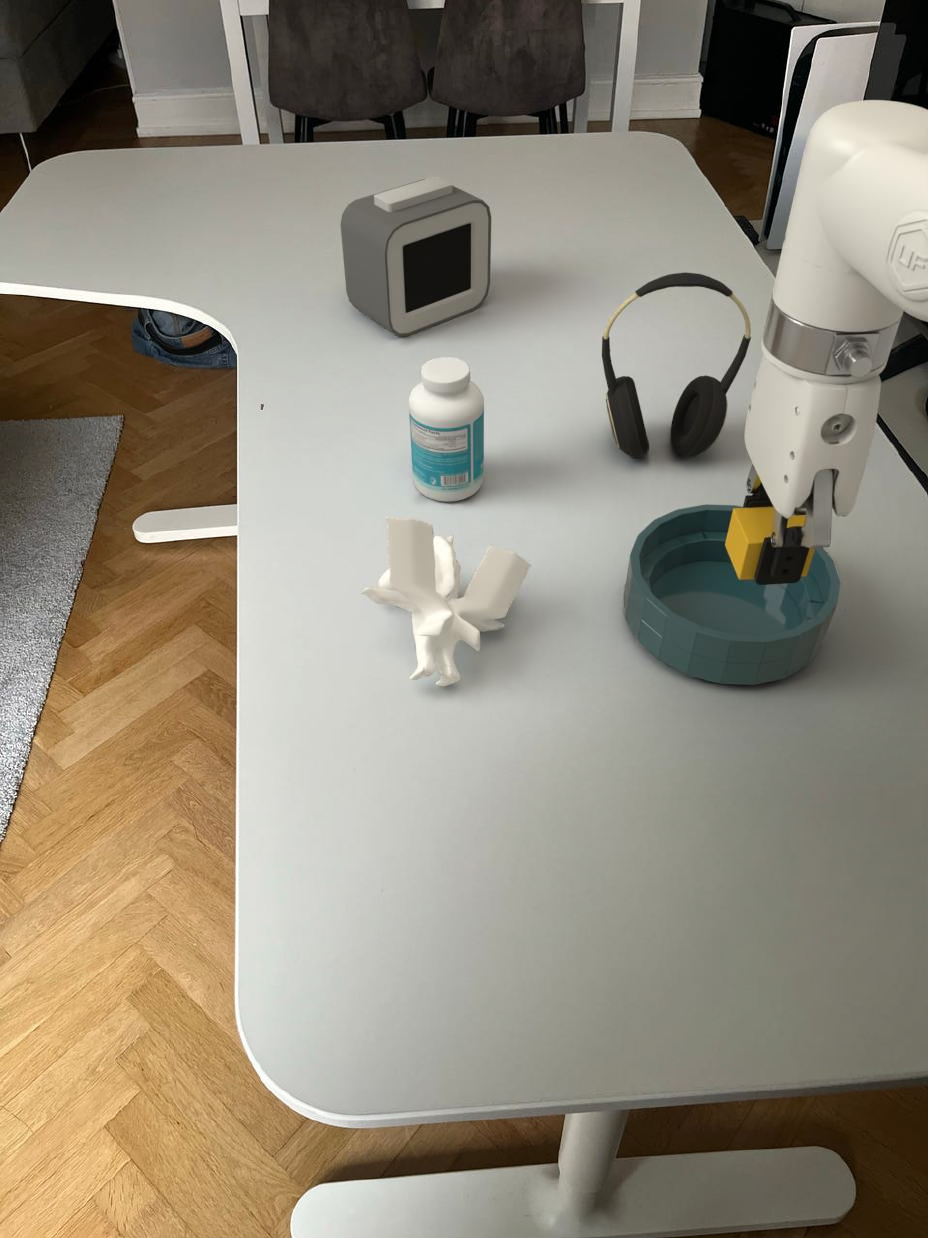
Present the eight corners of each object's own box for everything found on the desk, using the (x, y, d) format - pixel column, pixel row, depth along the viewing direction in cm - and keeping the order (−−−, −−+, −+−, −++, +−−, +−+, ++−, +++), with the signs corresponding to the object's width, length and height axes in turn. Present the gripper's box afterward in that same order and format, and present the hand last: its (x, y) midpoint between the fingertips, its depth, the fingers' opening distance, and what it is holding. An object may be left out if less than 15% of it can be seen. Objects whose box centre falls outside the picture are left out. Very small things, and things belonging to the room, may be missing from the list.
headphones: (733, 472, 105) (775, 295, 91) (594, 473, 105) (613, 296, 91) (718, 427, 111) (755, 253, 97) (586, 427, 111) (604, 254, 97)
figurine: (460, 717, 91) (457, 579, 97) (541, 679, 82) (532, 531, 88) (314, 686, 83) (320, 538, 88) (388, 641, 74) (389, 480, 80)
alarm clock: (390, 343, 125) (382, 219, 114) (339, 309, 131) (328, 189, 120) (489, 304, 132) (491, 184, 121) (437, 274, 138) (435, 157, 127)
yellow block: (724, 544, 74) (732, 507, 72) (789, 541, 75) (800, 504, 72) (738, 580, 72) (748, 543, 69) (806, 576, 72) (818, 539, 69)
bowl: (854, 607, 90) (873, 557, 86) (765, 724, 81) (781, 674, 77) (684, 530, 98) (694, 481, 94) (585, 628, 89) (591, 578, 84)
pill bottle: (449, 453, 108) (447, 340, 98) (498, 483, 104) (501, 368, 94) (397, 483, 104) (390, 368, 94) (446, 514, 100) (444, 398, 91)
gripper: (946, 402, 54) (856, 637, 67) (842, 267, 66) (782, 488, 79) (812, 408, 54) (747, 643, 67) (731, 271, 66) (689, 493, 79)
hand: (766, 557), depth 73 cm, fingers closed on yellow block, 4 cm apart
